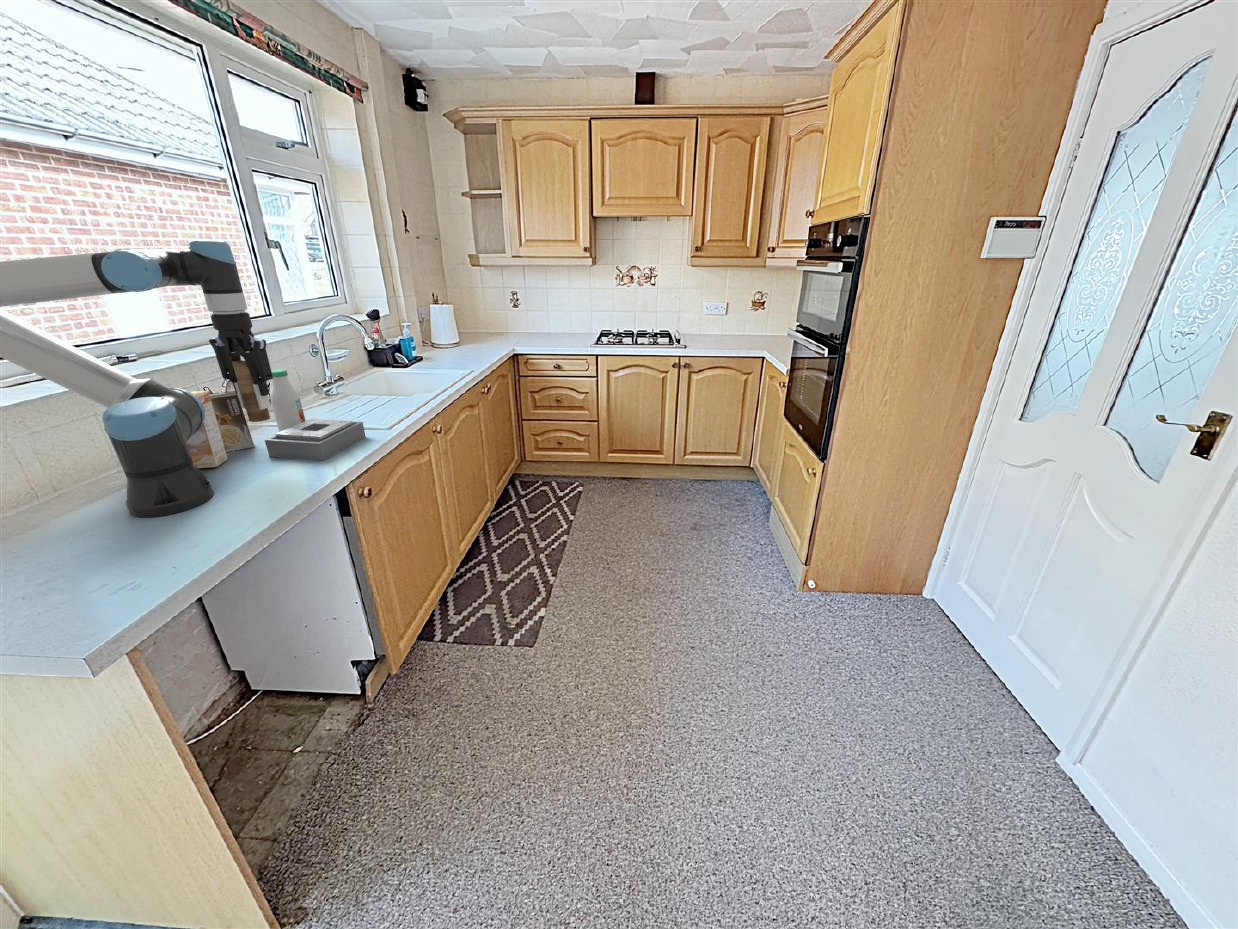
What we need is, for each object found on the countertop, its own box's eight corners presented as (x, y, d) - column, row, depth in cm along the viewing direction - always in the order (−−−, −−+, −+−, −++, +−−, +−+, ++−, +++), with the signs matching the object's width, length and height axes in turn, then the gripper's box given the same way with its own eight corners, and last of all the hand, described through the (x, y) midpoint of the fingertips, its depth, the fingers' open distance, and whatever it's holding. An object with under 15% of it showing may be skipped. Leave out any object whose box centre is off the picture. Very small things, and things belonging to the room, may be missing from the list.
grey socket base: (323, 460, 139) (319, 443, 137) (269, 456, 141) (264, 439, 139) (365, 437, 156) (362, 421, 154) (316, 433, 158) (312, 418, 156)
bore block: (324, 453, 141) (320, 436, 139) (279, 450, 143) (275, 433, 141) (355, 436, 153) (352, 421, 151) (314, 433, 155) (310, 418, 153)
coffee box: (251, 441, 152) (236, 389, 145) (255, 447, 147) (239, 394, 141) (214, 448, 146) (196, 395, 140) (216, 455, 142) (198, 400, 135)
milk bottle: (298, 436, 156) (282, 373, 148) (274, 436, 156) (256, 373, 148) (313, 428, 163) (297, 367, 155) (289, 428, 163) (273, 367, 155)
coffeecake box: (149, 473, 129) (123, 398, 122) (165, 464, 135) (141, 393, 129) (216, 467, 133) (195, 394, 126) (228, 459, 139) (209, 389, 133)
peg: (260, 422, 126) (243, 362, 120) (244, 421, 126) (227, 362, 120) (274, 417, 130) (258, 359, 124) (259, 415, 130) (242, 358, 124)
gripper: (274, 311, 120) (298, 405, 129) (211, 309, 122) (238, 401, 131) (248, 314, 113) (275, 413, 122) (181, 312, 115) (213, 409, 125)
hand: (256, 407), depth 127 cm, fingers closed on peg, 4 cm apart
